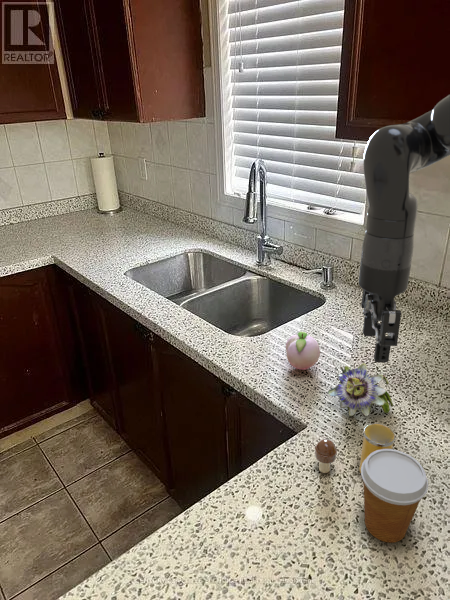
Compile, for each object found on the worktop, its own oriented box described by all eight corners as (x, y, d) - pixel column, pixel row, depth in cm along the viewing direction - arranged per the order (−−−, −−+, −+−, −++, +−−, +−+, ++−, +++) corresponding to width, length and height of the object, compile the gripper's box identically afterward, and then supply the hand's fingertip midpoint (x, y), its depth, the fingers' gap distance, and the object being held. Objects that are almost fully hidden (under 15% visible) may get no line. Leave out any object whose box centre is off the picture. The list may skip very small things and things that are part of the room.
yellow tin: (390, 466, 82) (397, 428, 78) (385, 487, 78) (392, 448, 74) (362, 457, 85) (367, 420, 81) (355, 476, 80) (360, 438, 76)
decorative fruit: (321, 379, 107) (323, 343, 103) (286, 379, 107) (287, 343, 103) (316, 357, 115) (318, 324, 111) (284, 357, 116) (285, 323, 112)
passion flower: (350, 433, 98) (319, 396, 94) (357, 397, 106) (329, 361, 102) (398, 425, 91) (367, 384, 87) (402, 386, 99) (374, 348, 95)
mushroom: (337, 465, 83) (340, 438, 80) (331, 480, 80) (334, 452, 77) (317, 458, 85) (319, 431, 82) (311, 472, 82) (312, 445, 79)
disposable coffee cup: (352, 496, 77) (358, 443, 71) (410, 503, 75) (421, 449, 70) (357, 548, 68) (365, 492, 63) (423, 557, 67) (437, 500, 61)
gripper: (425, 277, 63) (409, 371, 70) (397, 244, 76) (385, 327, 83) (372, 277, 64) (361, 371, 71) (352, 245, 77) (345, 327, 84)
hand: (374, 347), depth 77 cm, fingers open, 8 cm apart
